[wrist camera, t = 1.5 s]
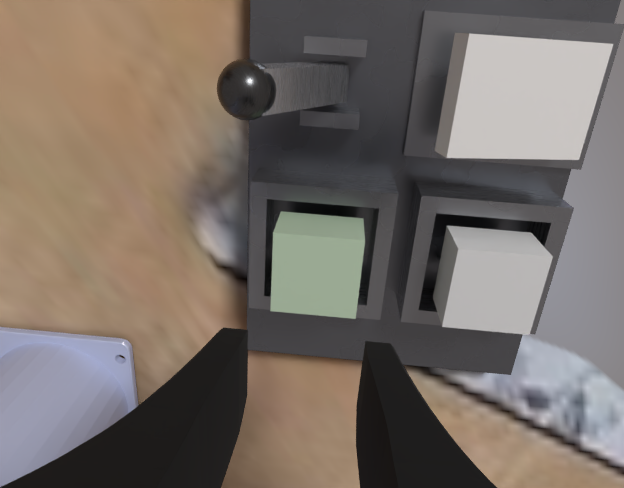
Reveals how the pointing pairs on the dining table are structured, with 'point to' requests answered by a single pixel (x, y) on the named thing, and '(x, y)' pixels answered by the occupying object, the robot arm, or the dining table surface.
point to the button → (317, 264)
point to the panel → (398, 168)
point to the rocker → (519, 97)
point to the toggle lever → (280, 87)
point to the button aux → (490, 279)
